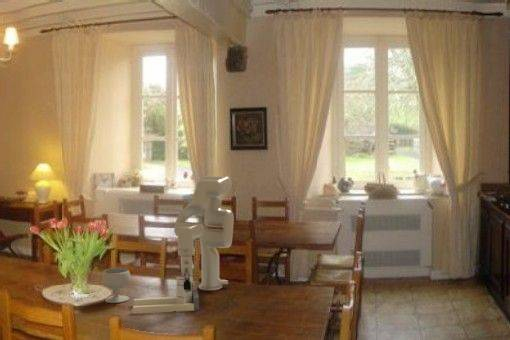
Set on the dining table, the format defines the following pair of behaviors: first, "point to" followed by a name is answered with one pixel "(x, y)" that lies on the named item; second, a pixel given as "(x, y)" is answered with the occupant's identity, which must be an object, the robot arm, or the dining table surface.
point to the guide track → (164, 304)
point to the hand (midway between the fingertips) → (186, 286)
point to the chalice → (116, 283)
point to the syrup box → (184, 291)
